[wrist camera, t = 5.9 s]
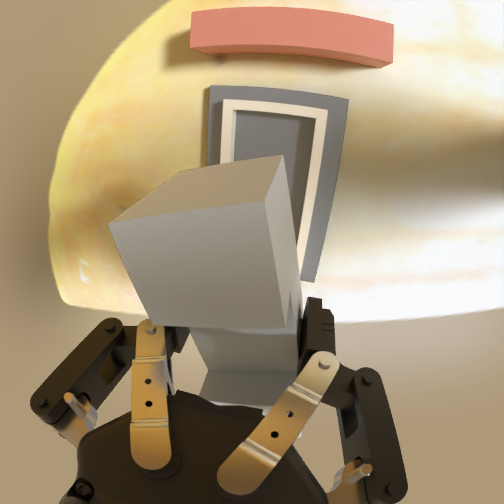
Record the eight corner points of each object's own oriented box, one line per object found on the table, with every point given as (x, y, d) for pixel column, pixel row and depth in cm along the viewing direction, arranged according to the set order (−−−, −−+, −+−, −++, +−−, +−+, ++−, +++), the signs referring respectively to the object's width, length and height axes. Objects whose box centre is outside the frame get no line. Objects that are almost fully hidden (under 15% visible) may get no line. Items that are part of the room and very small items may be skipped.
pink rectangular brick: (381, 35, 19) (393, 24, 15) (379, 68, 21) (392, 62, 17) (209, 23, 22) (191, 12, 18) (208, 54, 24) (189, 47, 20)
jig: (347, 99, 24) (350, 99, 22) (314, 277, 35) (313, 289, 33) (213, 85, 25) (205, 84, 23) (209, 259, 37) (203, 269, 35)
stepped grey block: (283, 154, 12) (264, 201, 7) (307, 361, 18) (300, 437, 13) (180, 171, 13) (107, 223, 8) (239, 361, 20) (220, 431, 15)
